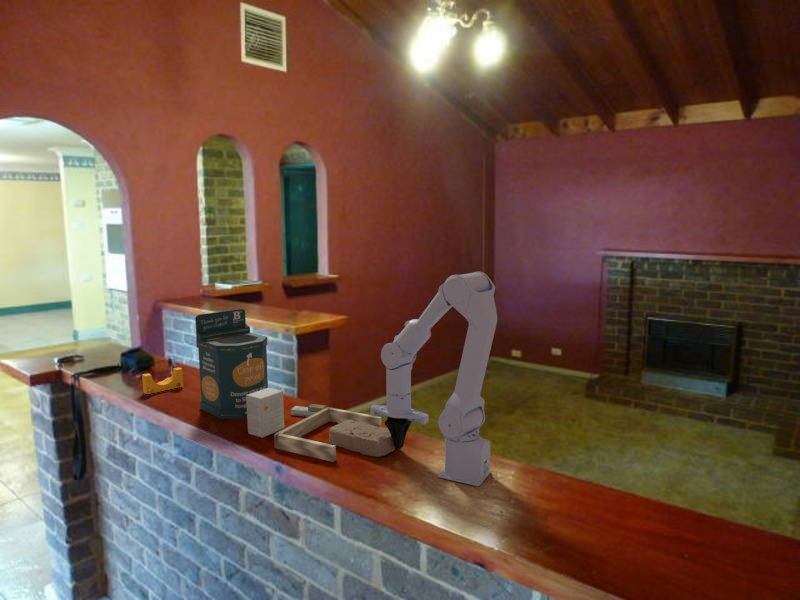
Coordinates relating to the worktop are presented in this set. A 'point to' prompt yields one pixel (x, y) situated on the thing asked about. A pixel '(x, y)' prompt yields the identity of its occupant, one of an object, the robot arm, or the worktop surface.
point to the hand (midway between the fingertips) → (398, 447)
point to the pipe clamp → (163, 382)
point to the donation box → (229, 363)
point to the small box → (265, 412)
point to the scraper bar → (307, 410)
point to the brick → (362, 438)
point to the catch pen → (291, 434)
